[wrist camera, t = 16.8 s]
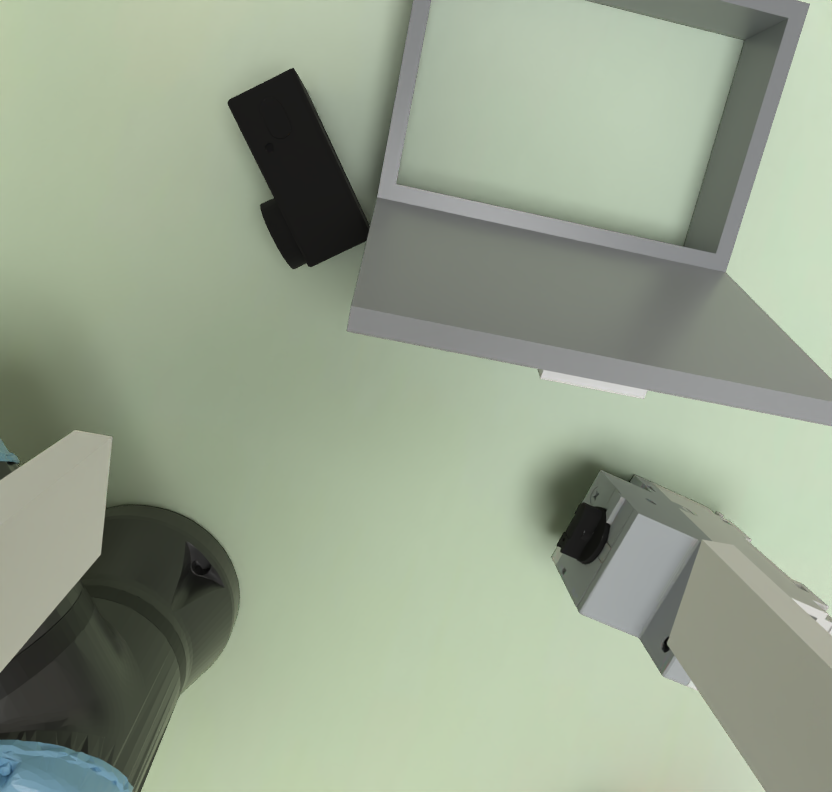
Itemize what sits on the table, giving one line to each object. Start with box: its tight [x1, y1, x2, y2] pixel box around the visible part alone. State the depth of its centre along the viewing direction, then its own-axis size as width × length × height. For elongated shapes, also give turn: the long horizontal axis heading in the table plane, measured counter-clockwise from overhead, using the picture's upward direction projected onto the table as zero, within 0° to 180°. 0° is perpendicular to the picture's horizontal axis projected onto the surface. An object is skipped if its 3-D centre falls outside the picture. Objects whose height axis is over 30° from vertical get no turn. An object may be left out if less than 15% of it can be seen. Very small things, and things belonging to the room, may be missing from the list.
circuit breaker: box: [551, 470, 832, 690], centre depth 46 cm, size 8×14×15 cm, turn 65°
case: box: [377, 0, 810, 272], centre depth 43 cm, size 23×16×5 cm
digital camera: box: [228, 68, 370, 269], centre depth 42 cm, size 10×5×7 cm, turn 25°
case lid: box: [347, 197, 832, 426], centre depth 36 cm, size 23×16×2 cm
